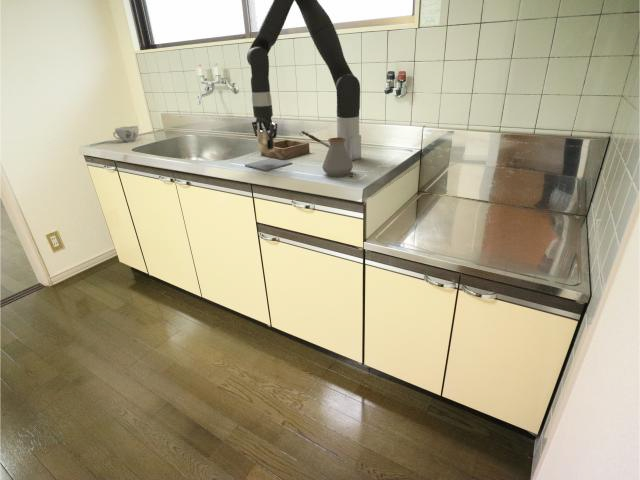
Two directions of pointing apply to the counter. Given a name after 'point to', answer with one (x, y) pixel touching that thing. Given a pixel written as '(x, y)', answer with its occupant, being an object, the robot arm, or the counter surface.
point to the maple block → (264, 142)
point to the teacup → (127, 133)
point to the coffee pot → (335, 157)
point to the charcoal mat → (268, 164)
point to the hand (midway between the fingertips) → (266, 148)
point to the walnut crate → (288, 149)
